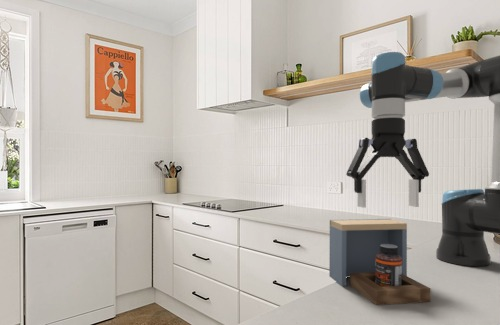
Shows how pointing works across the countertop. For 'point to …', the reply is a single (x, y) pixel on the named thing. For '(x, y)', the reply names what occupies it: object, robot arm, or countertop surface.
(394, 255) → the supplement bottle
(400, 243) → the blue open cabinet
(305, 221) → the countertop surface
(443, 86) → the robot arm
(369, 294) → the socket
